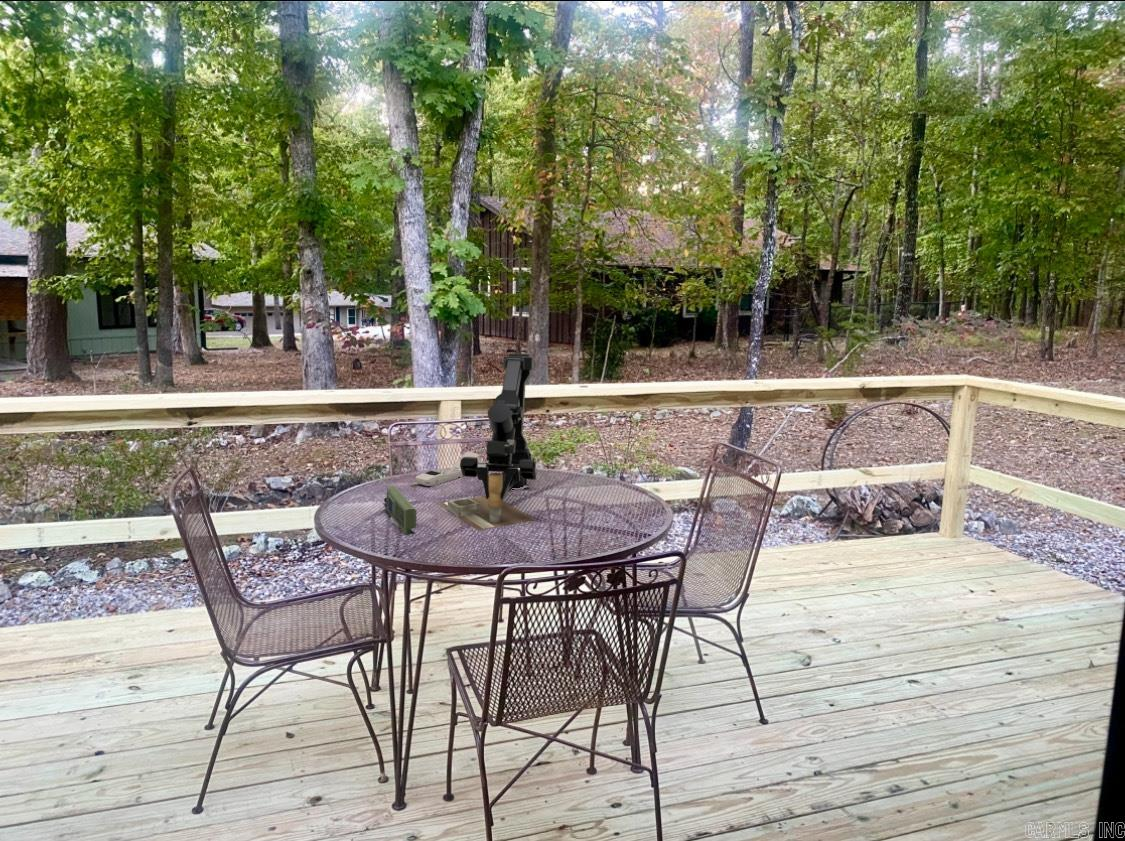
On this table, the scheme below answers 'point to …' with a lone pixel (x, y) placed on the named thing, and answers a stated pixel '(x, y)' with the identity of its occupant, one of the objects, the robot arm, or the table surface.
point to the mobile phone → (442, 473)
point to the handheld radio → (401, 509)
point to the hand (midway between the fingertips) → (494, 498)
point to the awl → (495, 496)
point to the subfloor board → (483, 512)
